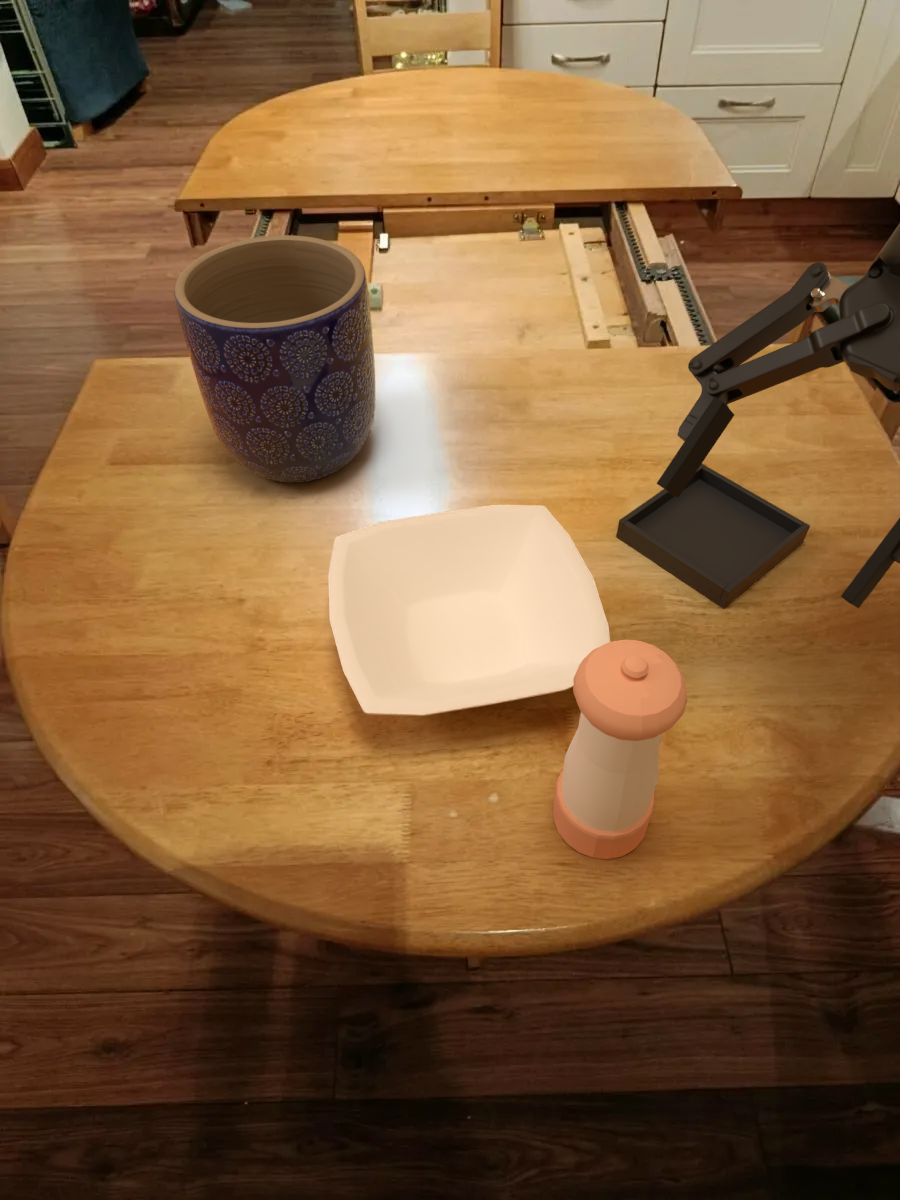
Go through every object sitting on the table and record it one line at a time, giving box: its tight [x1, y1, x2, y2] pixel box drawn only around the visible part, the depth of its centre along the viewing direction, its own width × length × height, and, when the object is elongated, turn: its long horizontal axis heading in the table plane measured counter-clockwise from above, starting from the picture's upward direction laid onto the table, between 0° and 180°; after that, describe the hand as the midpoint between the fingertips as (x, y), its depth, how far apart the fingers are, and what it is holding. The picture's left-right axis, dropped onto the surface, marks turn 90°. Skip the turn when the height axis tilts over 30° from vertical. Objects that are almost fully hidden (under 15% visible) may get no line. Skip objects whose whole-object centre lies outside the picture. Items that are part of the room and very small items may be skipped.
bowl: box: [327, 503, 611, 717], centre depth 75 cm, size 22×23×6 cm
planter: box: [173, 234, 376, 483], centre depth 88 cm, size 18×18×21 cm
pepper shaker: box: [552, 639, 688, 860], centre depth 58 cm, size 7×7×19 cm
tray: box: [615, 463, 811, 609], centre depth 85 cm, size 13×13×2 cm
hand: (752, 543), depth 54 cm, fingers open, 13 cm apart
